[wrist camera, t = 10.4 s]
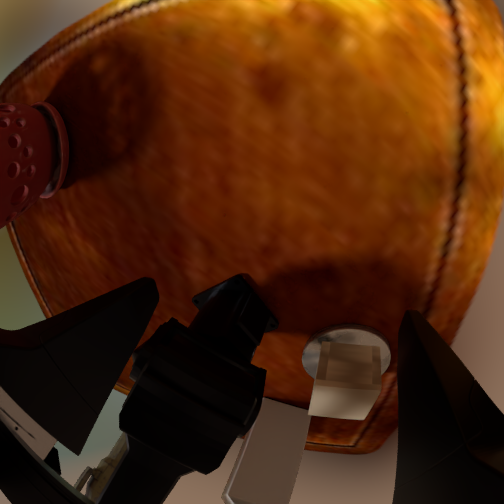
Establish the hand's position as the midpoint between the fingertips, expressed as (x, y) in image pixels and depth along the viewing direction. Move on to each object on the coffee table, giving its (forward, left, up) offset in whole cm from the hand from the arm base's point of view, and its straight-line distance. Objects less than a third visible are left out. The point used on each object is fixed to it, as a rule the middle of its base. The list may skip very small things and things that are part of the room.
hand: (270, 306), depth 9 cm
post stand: (-5, -16, -12) cm, 21 cm away
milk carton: (-19, -25, -12) cm, 34 cm away
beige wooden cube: (-5, -16, -11) cm, 20 cm away
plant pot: (-20, +22, -12) cm, 32 cm away
